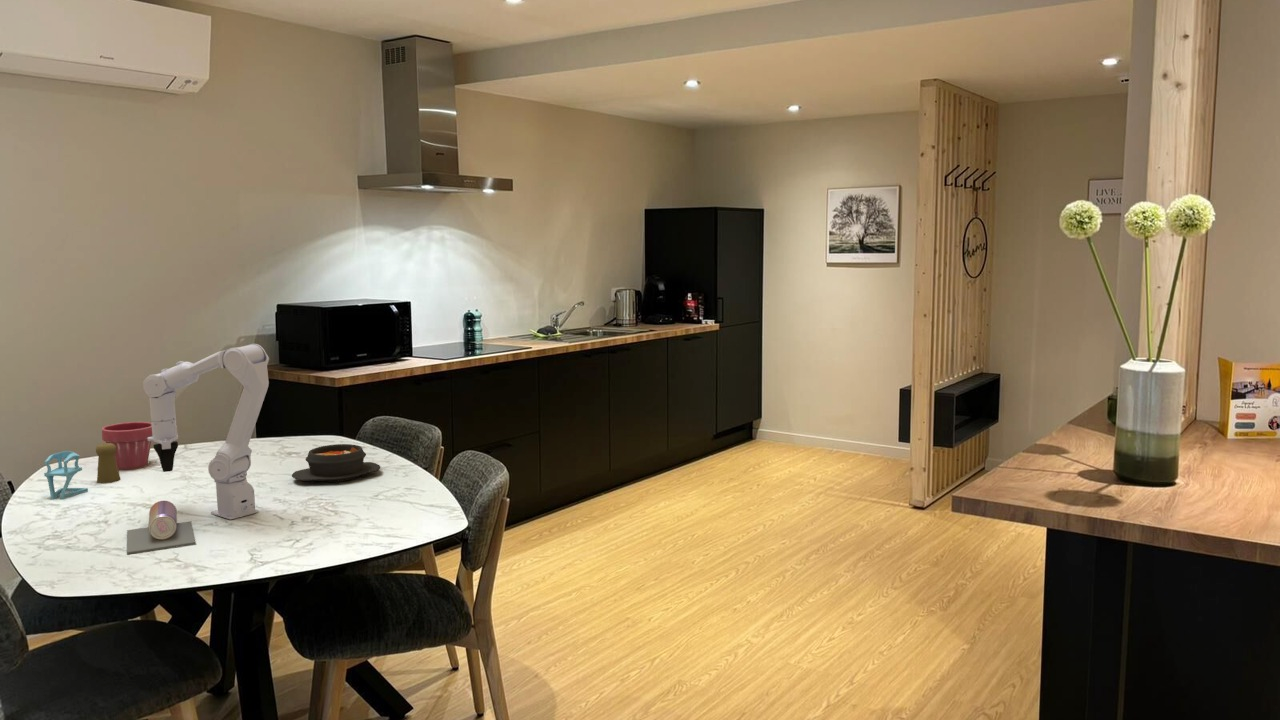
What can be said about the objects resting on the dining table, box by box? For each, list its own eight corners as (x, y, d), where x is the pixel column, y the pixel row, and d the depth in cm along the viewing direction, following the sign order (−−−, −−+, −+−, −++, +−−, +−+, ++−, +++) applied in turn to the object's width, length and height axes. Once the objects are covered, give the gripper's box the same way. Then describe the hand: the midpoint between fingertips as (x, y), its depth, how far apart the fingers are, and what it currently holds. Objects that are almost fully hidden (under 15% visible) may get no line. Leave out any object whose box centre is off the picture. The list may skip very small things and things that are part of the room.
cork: (91, 482, 269) (88, 445, 267) (108, 477, 275) (105, 441, 273) (109, 483, 268) (106, 446, 266) (125, 478, 273) (122, 442, 272)
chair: (42, 499, 253) (37, 456, 251) (61, 490, 261) (57, 449, 259) (69, 499, 252) (65, 456, 250) (88, 490, 260) (84, 449, 259)
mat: (127, 532, 224) (127, 530, 224) (191, 523, 231) (191, 521, 231) (126, 554, 208) (126, 552, 208) (195, 544, 215) (195, 542, 215)
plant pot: (166, 461, 294) (163, 421, 292) (138, 472, 280) (135, 431, 278) (124, 460, 295) (121, 420, 294) (94, 471, 282) (90, 430, 280)
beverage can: (171, 496, 230) (171, 511, 216) (180, 517, 231) (180, 534, 218) (145, 505, 227) (144, 521, 214) (154, 527, 229) (153, 544, 215)
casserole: (372, 465, 287) (371, 438, 286) (387, 478, 271) (386, 450, 270) (287, 475, 275) (285, 448, 274) (297, 490, 259) (295, 461, 258)
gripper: (145, 416, 243) (149, 466, 245) (146, 426, 230) (150, 479, 232) (175, 413, 246) (179, 463, 248) (178, 423, 234) (182, 475, 236)
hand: (167, 470), depth 240 cm, fingers closed
